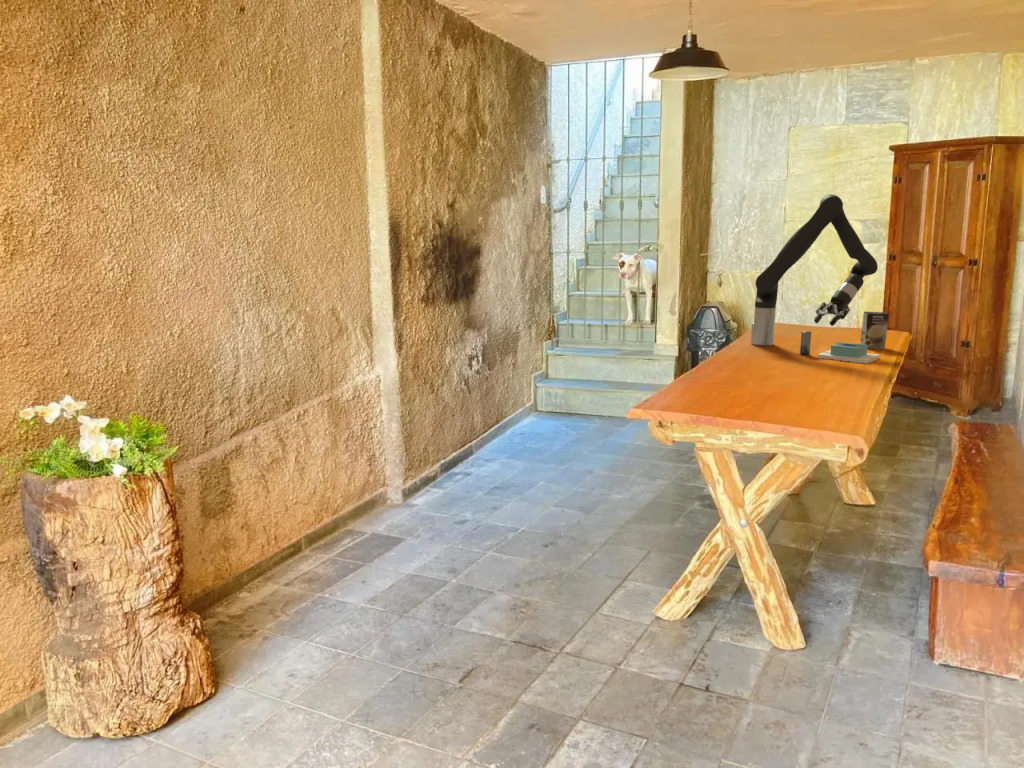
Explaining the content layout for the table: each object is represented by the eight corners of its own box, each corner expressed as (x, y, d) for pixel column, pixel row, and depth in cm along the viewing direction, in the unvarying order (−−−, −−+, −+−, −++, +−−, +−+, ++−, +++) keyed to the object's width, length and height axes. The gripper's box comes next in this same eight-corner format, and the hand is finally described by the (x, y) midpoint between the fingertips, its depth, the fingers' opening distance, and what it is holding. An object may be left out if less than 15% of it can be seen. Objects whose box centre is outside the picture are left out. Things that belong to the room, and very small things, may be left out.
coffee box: (864, 349, 359) (867, 313, 355) (859, 346, 365) (862, 311, 362) (885, 349, 358) (889, 313, 354) (880, 346, 364) (884, 311, 361)
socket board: (817, 357, 338) (818, 345, 337) (831, 352, 350) (832, 340, 349) (866, 363, 326) (868, 350, 324) (879, 358, 337) (880, 345, 336)
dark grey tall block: (798, 354, 345) (800, 331, 343) (801, 353, 348) (803, 330, 346) (807, 355, 343) (809, 332, 341) (811, 354, 346) (812, 331, 344)
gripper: (827, 288, 354) (806, 315, 352) (853, 291, 342) (832, 319, 339) (835, 299, 357) (814, 326, 355) (861, 302, 345) (840, 331, 342)
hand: (823, 323), depth 347 cm, fingers open, 8 cm apart
